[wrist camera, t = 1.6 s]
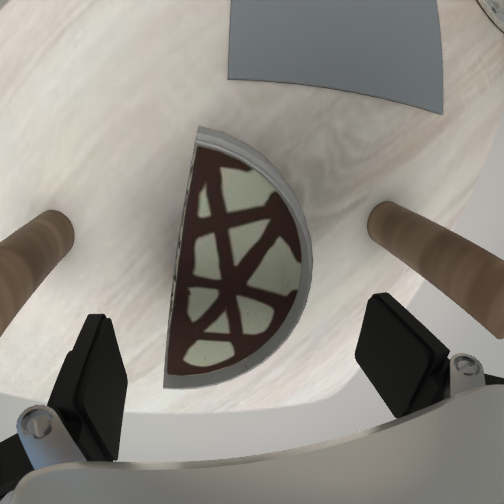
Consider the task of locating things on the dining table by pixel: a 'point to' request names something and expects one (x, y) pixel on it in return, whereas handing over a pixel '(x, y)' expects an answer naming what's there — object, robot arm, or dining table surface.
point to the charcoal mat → (342, 46)
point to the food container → (234, 265)
